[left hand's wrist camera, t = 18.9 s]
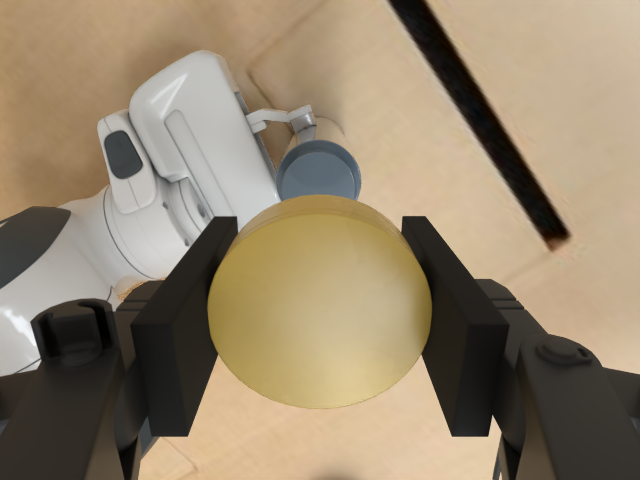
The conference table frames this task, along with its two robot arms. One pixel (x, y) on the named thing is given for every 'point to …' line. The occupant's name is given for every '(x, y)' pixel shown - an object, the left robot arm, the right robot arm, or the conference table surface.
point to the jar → (318, 164)
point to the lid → (319, 303)
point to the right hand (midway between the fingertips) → (329, 151)
